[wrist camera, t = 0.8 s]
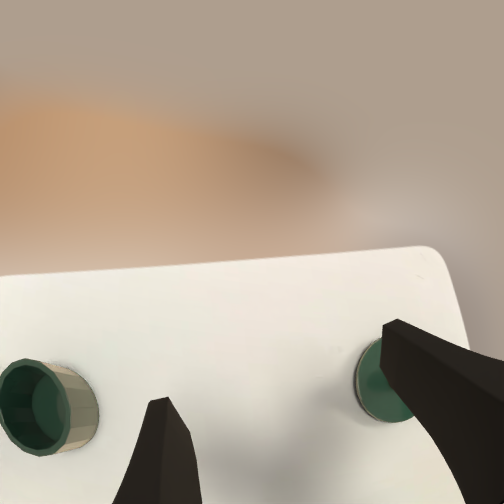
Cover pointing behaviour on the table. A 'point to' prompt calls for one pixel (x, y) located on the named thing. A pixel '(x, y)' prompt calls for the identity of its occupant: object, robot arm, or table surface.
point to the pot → (46, 408)
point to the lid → (378, 389)
